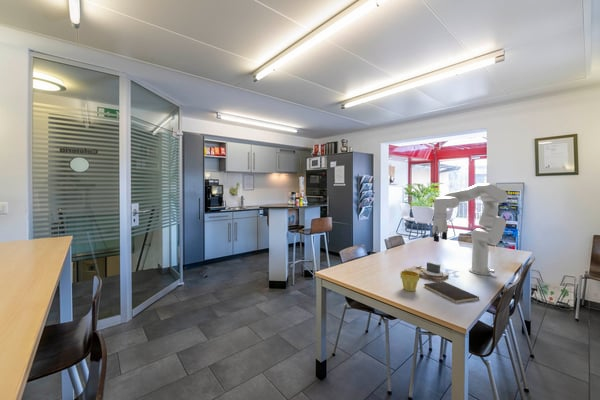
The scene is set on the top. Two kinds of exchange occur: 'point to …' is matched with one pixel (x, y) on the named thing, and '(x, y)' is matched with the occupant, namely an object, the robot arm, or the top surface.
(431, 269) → the cam dial
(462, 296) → the hardcover book
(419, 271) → the levelling base
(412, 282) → the plant pot
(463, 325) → the top surface
